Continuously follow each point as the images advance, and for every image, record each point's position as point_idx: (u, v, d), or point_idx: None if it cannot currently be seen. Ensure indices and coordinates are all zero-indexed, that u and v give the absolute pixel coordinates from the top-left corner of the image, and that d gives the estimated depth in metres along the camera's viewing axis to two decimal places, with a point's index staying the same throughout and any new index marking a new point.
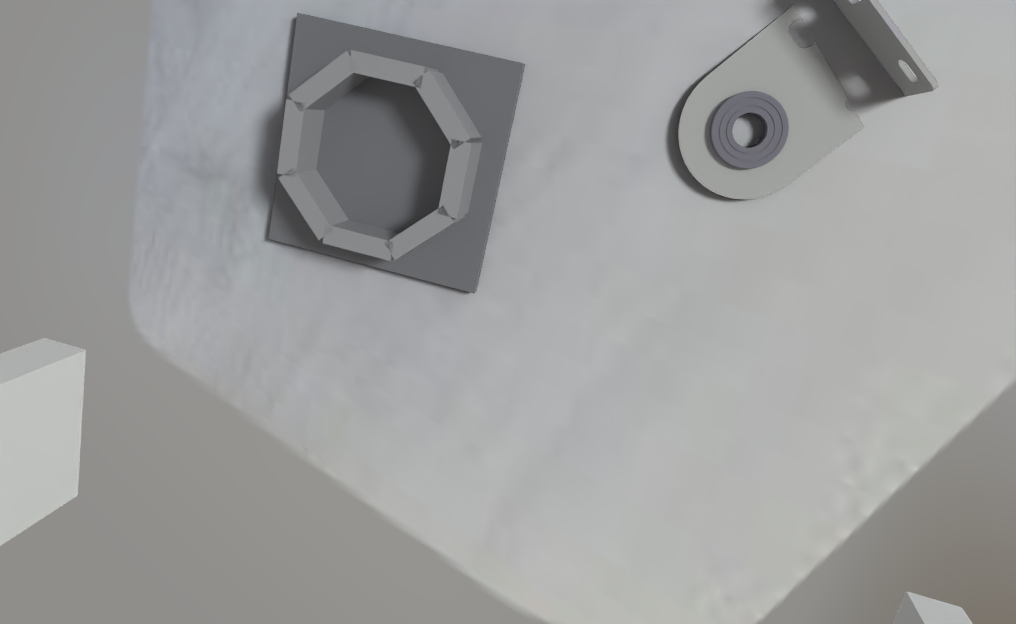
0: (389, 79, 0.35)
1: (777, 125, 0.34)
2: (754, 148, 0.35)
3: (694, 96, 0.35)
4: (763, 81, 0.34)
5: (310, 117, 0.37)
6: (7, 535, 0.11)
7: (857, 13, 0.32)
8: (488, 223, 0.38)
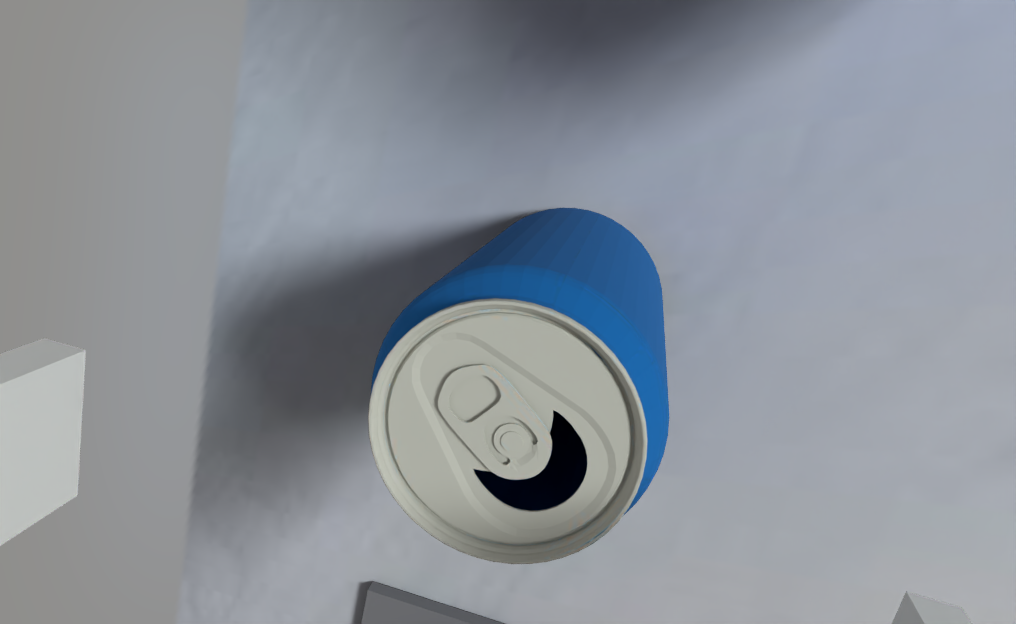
0: None
1: None
2: None
3: None
4: None
5: None
6: (7, 535, 0.11)
7: None
8: None
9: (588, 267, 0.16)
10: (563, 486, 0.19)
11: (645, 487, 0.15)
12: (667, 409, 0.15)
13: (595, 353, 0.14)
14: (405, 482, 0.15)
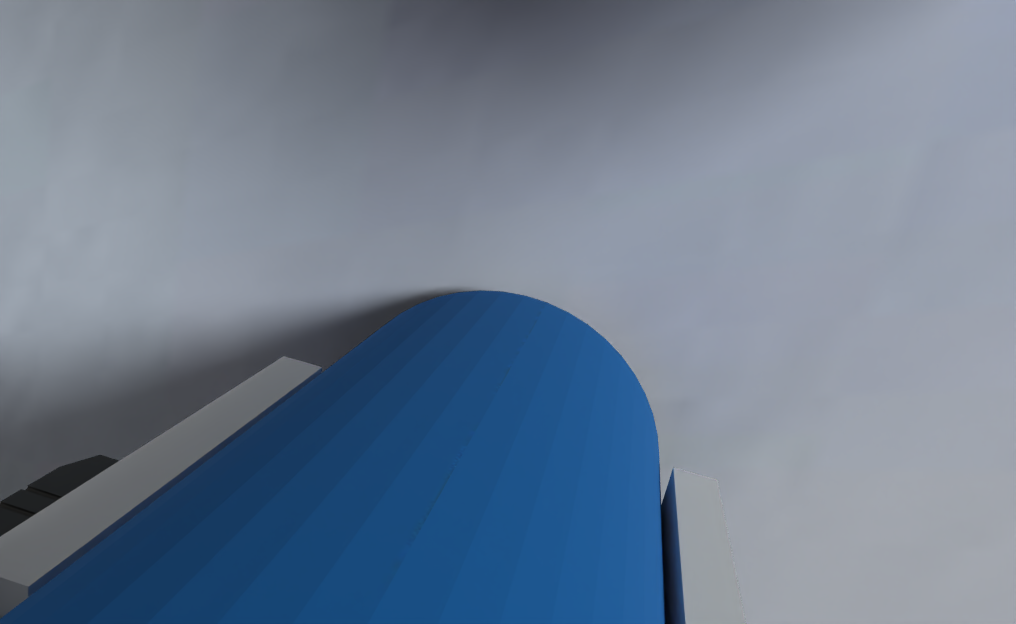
0: None
1: None
2: None
3: None
4: None
5: None
6: None
7: None
8: None
9: (441, 583, 0.05)
10: None
11: None
12: None
13: None
14: None
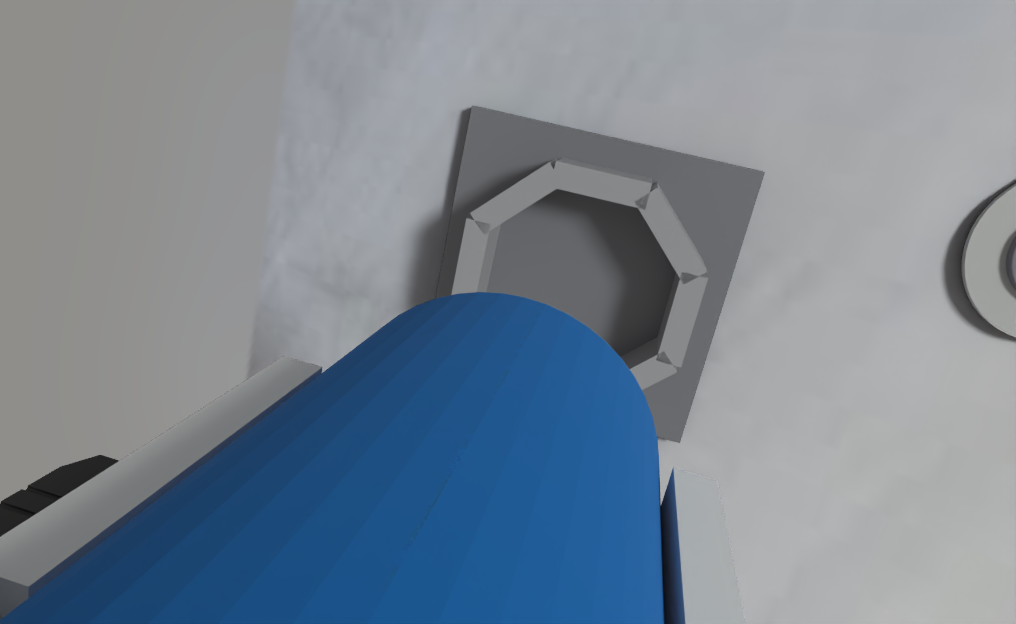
0: (604, 198, 0.27)
1: None
2: None
3: (988, 215, 0.28)
4: None
5: (491, 237, 0.29)
6: None
7: None
8: (704, 361, 0.31)
9: (438, 589, 0.05)
10: None
11: None
12: None
13: None
14: None
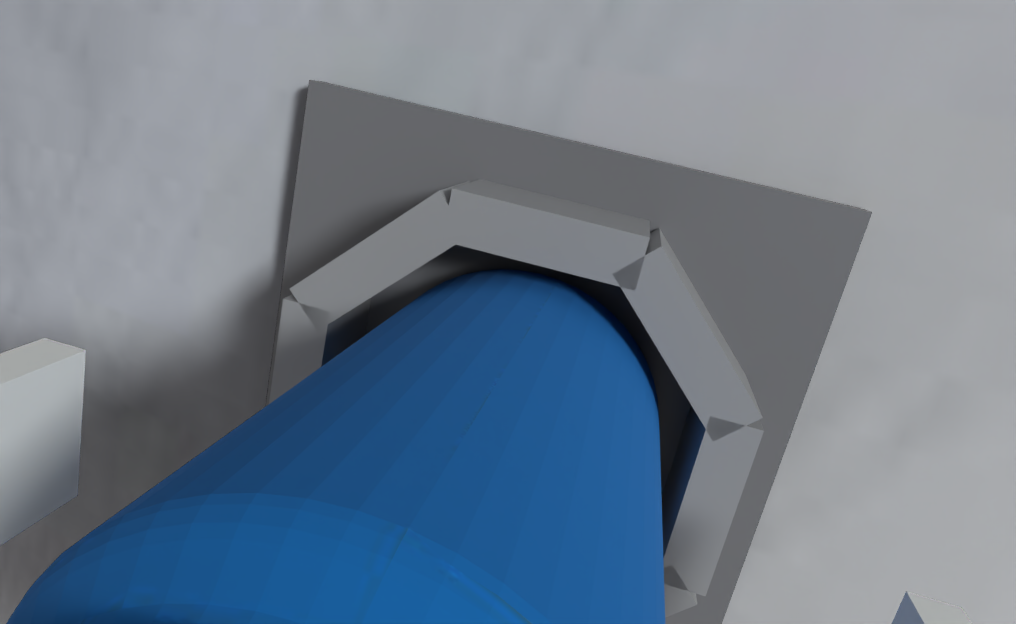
0: (551, 265, 0.13)
1: None
2: None
3: None
4: None
5: (341, 331, 0.15)
6: (7, 535, 0.11)
7: None
8: (744, 556, 0.17)
9: (488, 462, 0.07)
10: None
11: None
12: None
13: None
14: None
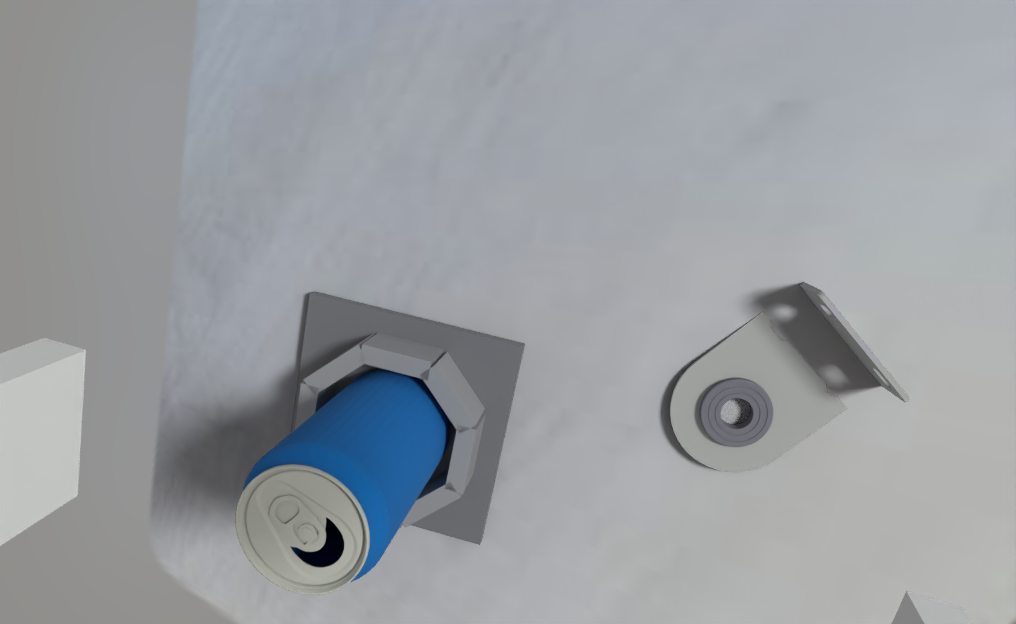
0: (398, 371, 0.37)
1: (762, 410, 0.37)
2: (741, 429, 0.37)
3: (683, 380, 0.37)
4: (748, 368, 0.37)
5: (323, 394, 0.39)
6: (7, 535, 0.11)
7: (833, 321, 0.34)
8: (492, 483, 0.40)
9: (355, 436, 0.31)
10: None
11: (379, 553, 0.30)
12: (387, 513, 0.29)
13: (342, 490, 0.28)
14: (257, 553, 0.30)
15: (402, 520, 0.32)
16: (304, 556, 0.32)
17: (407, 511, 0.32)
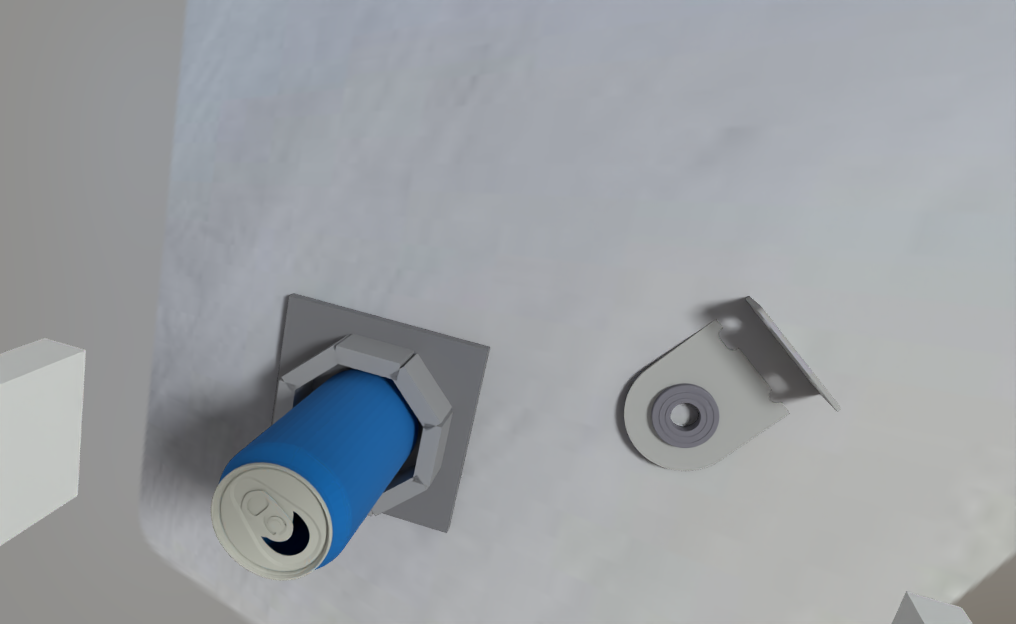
0: (369, 371, 0.40)
1: (709, 414, 0.39)
2: (689, 432, 0.39)
3: (636, 384, 0.40)
4: (697, 375, 0.39)
5: (300, 391, 0.42)
6: (7, 535, 0.11)
7: (774, 334, 0.37)
8: (459, 476, 0.43)
9: (322, 436, 0.33)
10: None
11: (342, 543, 0.32)
12: (350, 508, 0.32)
13: (307, 486, 0.31)
14: (231, 542, 0.33)
15: (366, 512, 0.35)
16: (277, 544, 0.35)
17: (371, 504, 0.35)
